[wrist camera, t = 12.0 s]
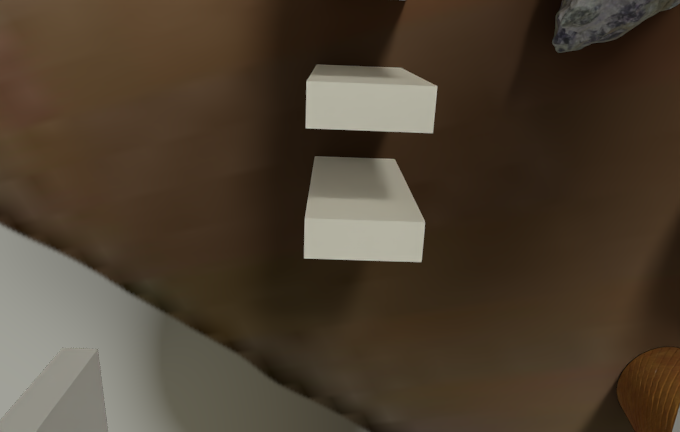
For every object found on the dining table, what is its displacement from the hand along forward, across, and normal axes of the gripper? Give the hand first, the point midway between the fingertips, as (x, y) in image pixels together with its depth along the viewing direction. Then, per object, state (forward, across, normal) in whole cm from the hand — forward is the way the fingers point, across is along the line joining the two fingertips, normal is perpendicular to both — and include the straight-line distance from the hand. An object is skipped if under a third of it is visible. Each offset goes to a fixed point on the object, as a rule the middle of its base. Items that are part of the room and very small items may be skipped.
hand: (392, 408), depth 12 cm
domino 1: (+23, 0, +5) cm, 24 cm away
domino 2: (+23, 0, 0) cm, 23 cm away
